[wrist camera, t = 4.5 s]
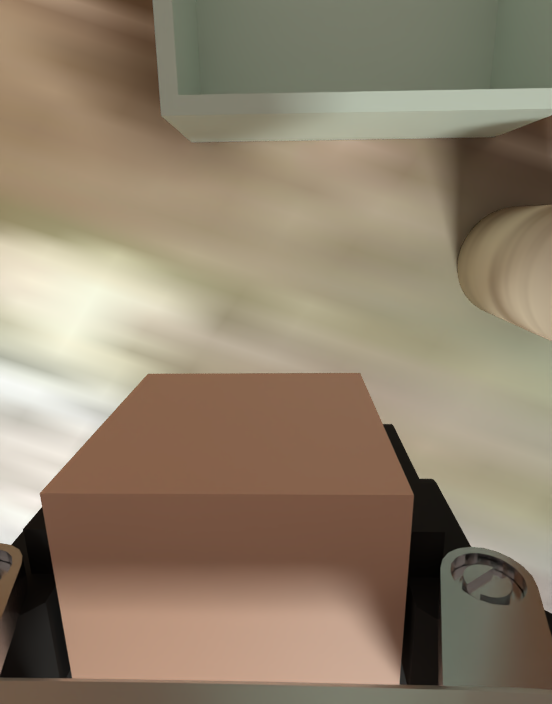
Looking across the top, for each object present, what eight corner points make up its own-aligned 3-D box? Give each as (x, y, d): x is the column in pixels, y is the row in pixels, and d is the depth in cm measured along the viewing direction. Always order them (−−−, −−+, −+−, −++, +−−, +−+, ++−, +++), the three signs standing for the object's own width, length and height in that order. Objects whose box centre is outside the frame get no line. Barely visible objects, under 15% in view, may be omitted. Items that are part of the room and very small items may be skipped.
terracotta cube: (360, 372, 11) (413, 495, 6) (353, 553, 12) (392, 767, 8) (147, 373, 11) (40, 493, 6) (164, 551, 13) (86, 760, 8)
